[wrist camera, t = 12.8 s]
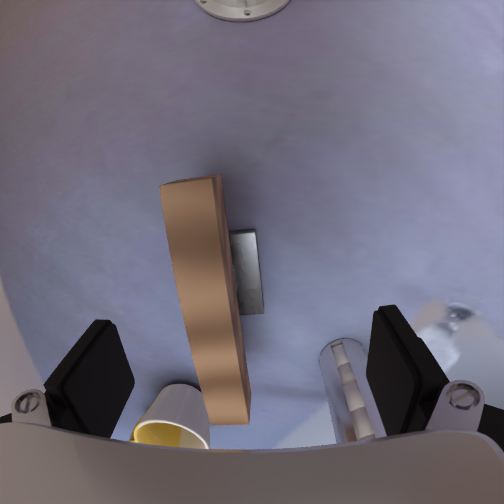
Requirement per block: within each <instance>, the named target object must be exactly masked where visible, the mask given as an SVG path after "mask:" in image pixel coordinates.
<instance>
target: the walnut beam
mask: <svg viewBox="0 0 504 504" xmlns="http://www.w3.org/2000/svg"><path fill="white" fill-rule="evenodd" d="M159 188H160V195H161V202H162V208H163V215H164V221H165V227H166V233H167V238H168V244H169V250H170V255H171V260H172V266H173V271H174V276H175V281H176V286H177V291H178V296H179V300H180V305H181V310H182V314H183V319H184V323H185V328H186V332H187V336H188V340H189V345H190V349H191V353H192V357H193V361H194V365H195V369H196V373H197V376H198V380H199V384H200V388H201V391H202V395H203V399H204V402H205V406H206V409H207V413H208V416H209V420H210V423H211V425H244V424H249V420H250V404H251V389H250V382H249V376H248V369H247V363H246V356H245V349H244V343H243V336H242V329H241V322H240V315H239V308H238V301H237V294H236V287H235V280H234V272H233V265H232V257H231V250H230V242H229V235H228V227H227V219H226V211H225V204H224V196H223V187H222V179H221V174H220V175H212V176H204V177H197V178H190V179H183V180H176V181H173V182H170V183H167V184H163V185H160V186H159Z"/></svg>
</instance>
